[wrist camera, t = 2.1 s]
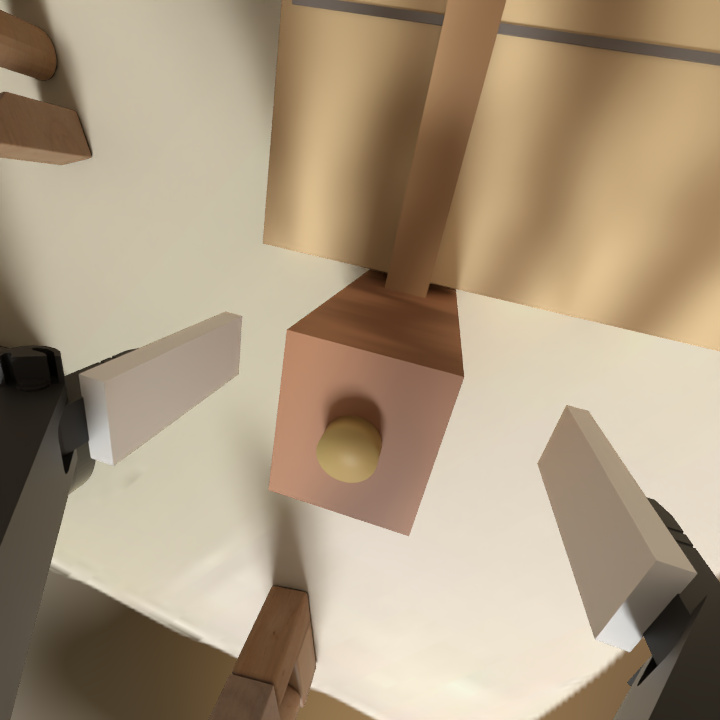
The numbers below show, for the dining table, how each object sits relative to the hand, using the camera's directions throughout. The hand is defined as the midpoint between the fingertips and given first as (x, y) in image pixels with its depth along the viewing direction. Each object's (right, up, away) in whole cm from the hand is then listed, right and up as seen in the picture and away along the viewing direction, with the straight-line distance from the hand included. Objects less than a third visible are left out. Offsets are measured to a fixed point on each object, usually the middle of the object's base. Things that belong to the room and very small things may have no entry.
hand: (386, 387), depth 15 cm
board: (+7, +10, +3) cm, 13 cm away
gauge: (+2, +8, +5) cm, 10 cm away
